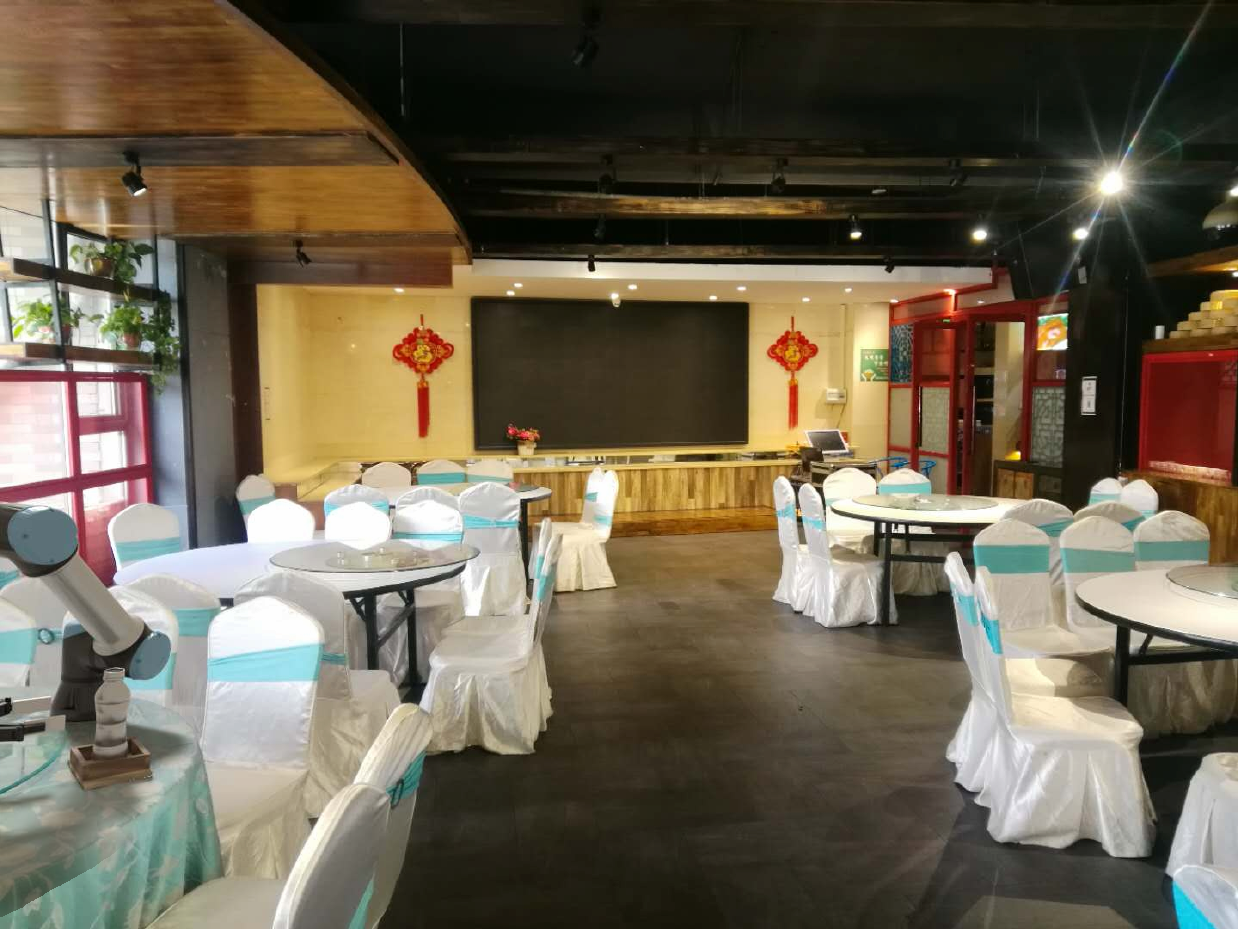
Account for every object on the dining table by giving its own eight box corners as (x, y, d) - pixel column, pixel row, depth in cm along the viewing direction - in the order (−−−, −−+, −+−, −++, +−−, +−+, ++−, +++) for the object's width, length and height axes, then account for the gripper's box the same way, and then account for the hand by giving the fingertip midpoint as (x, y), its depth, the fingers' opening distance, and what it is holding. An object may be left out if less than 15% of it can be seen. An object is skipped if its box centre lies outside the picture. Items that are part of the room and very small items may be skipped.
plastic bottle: (111, 773, 170) (116, 676, 170) (82, 769, 171) (88, 672, 171) (135, 762, 176) (140, 668, 176) (107, 757, 178) (112, 664, 177)
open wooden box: (67, 763, 176) (68, 744, 176) (131, 752, 184) (132, 734, 184) (84, 790, 164) (85, 770, 164) (152, 776, 173) (153, 757, 172)
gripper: (-87, 732, 162) (44, 713, 176) (-76, 775, 144) (69, 750, 158) (-85, 693, 161) (46, 678, 176) (-73, 732, 143) (72, 711, 158)
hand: (57, 712), depth 167 cm, fingers open, 13 cm apart
